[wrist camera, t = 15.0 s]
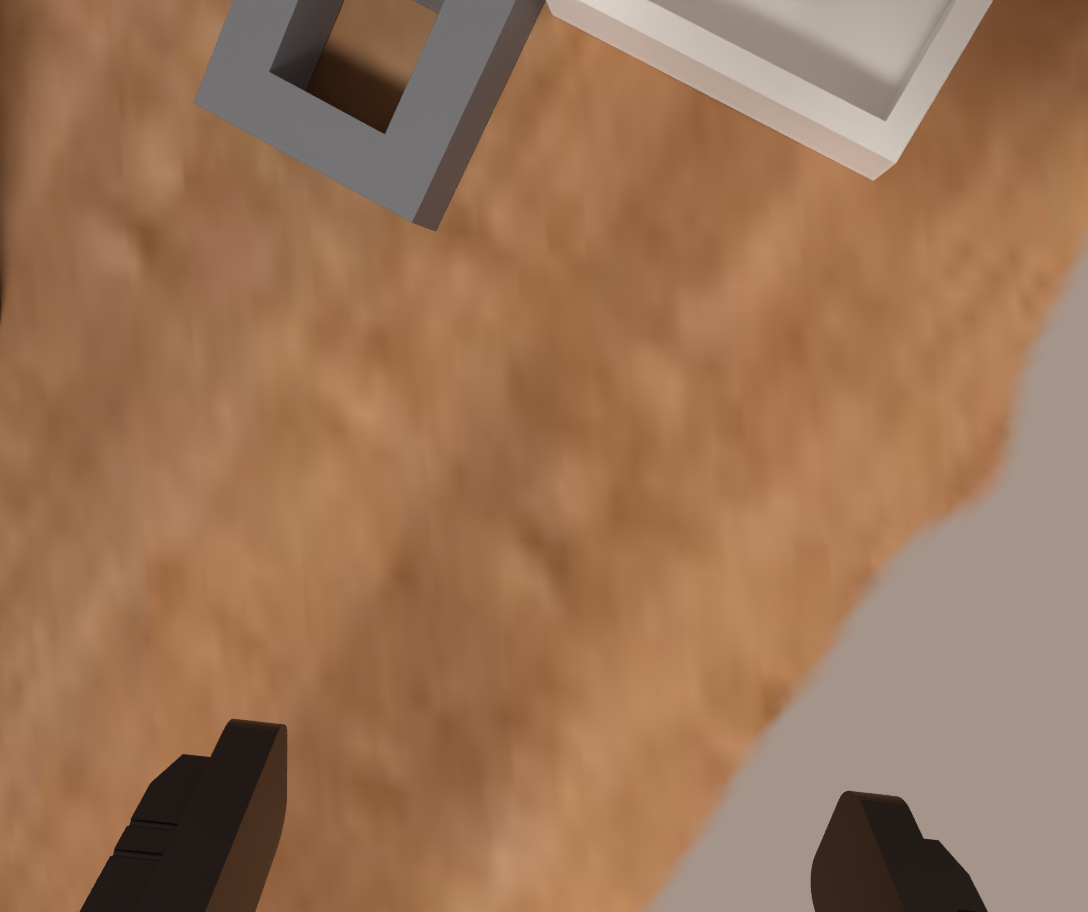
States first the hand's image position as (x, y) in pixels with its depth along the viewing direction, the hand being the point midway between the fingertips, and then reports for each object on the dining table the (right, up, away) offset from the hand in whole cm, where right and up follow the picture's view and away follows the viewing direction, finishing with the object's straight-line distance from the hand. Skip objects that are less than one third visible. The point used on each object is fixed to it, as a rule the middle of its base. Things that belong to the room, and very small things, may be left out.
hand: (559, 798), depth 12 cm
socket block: (-7, +21, +22) cm, 31 cm away
